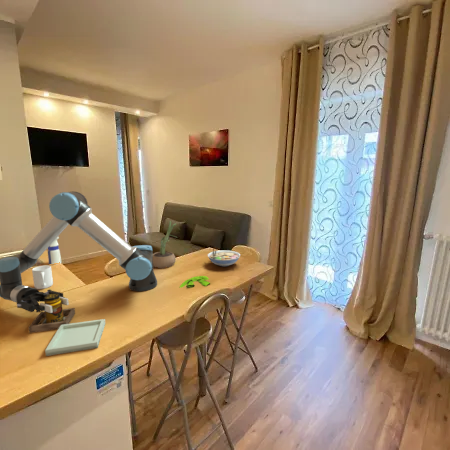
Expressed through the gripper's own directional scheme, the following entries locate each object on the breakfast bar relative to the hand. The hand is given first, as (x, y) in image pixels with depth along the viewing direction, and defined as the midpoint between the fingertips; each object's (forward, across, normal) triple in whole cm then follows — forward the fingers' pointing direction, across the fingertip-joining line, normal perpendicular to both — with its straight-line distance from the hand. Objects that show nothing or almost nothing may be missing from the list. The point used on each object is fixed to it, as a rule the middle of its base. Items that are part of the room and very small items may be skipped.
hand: (59, 305), depth 104 cm
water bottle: (-82, -50, -9) cm, 96 cm away
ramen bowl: (+30, -95, -9) cm, 100 cm away
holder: (-5, 0, -9) cm, 10 cm away
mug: (-46, -21, -9) cm, 51 cm away
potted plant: (-8, -81, -9) cm, 82 cm away
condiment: (-5, 0, -9) cm, 10 cm away
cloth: (+29, -59, -10) cm, 67 cm away
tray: (+14, +3, -9) cm, 17 cm away
